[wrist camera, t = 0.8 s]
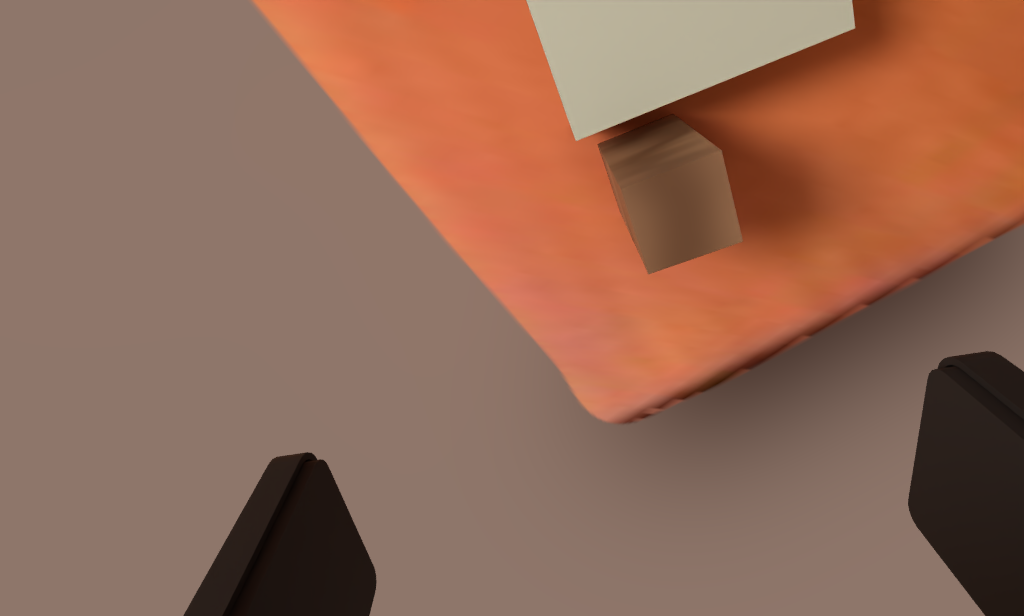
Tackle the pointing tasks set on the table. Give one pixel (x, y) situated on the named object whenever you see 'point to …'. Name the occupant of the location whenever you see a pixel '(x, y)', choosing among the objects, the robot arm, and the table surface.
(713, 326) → the table surface
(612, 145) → the walnut block
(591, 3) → the sage step
